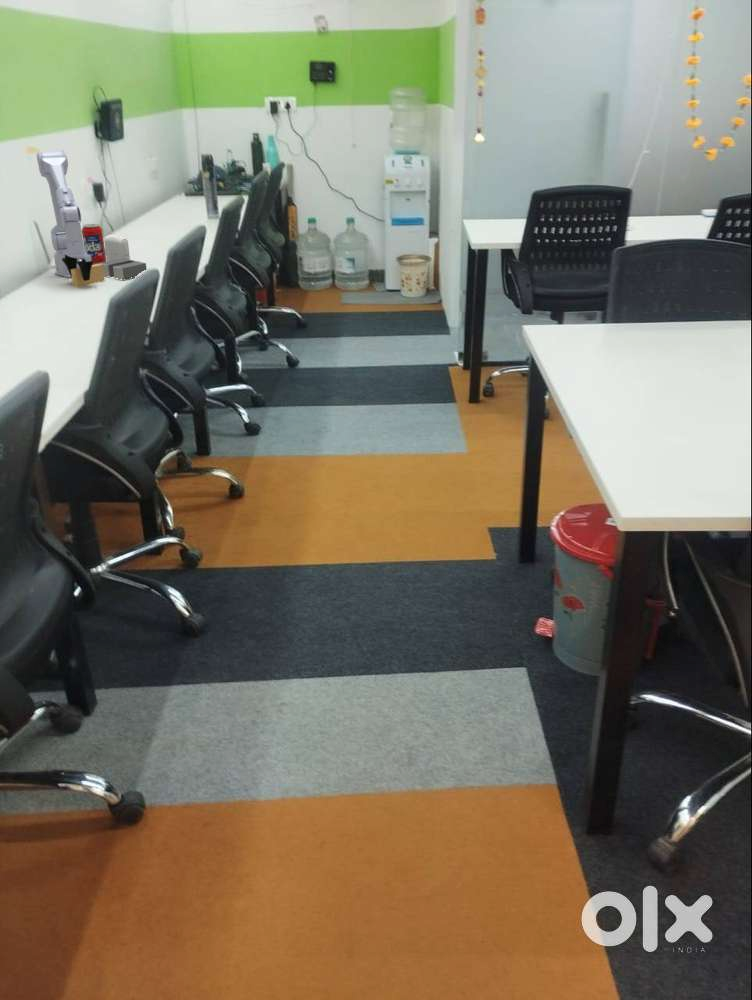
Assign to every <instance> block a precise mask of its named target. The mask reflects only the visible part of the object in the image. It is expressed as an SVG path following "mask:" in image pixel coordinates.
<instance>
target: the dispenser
mask: <svg viewBox="0 0 752 1000" xmlns="http://www.w3.org/2000/svg"><path fill="white" fill-rule="evenodd" d="M99 264H101V265H103V272H104V277H106V276H112V277H114V279H115V278H118V279H122V280H123V281H125V280H124V279H128V280H130V279H129V278H131V277H132V279H135V278H134V277H135V276H137V275H138V274H139V273H141V272H142V271H144V270H146V269H147V263H146V262H141V261H137V260H133V259H130V260H129V259H125V258H123V259H118V260H113V261H108V262H107V261H106V262H103V263H99ZM147 270H148V269H147ZM113 275H114V276H113ZM118 279H117V280H118ZM122 280H121V281H122Z"/></svg>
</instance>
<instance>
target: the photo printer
mask: <svg viewBox="0 0 752 1000" xmlns="http://www.w3.org/2000/svg"><path fill="white" fill-rule="evenodd" d="M104 246H105V253H106V262H108V261H113V260H118V259H123V258H125V259H129V260H131V256H130V249H129V248H130V247H129V241H128V240H127V238H125V237H123V236H121V235H118V234H110V235H106V236H105V237H104Z"/></svg>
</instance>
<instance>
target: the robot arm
mask: <svg viewBox="0 0 752 1000" xmlns="http://www.w3.org/2000/svg"><path fill="white" fill-rule="evenodd" d="M36 161H37V165H38V171H39V174H40V176H41V177H43V178H45V179H46V181H47V183H48V188H49V191H50V197H51V202H52V206H53V213H54V216H55V221H56V224H55V225H54V226H53V227H52V228H51V230H50V236H51V237H50V238H51V243H52V247H53V250H54V251H55V252H54V254H53V259H54V264H55V270H56V272H54V275H58V276H62V277H65V278H72V275H71V269H75V268H80V270H81V273H82V277H83V280H84V281H86V280H89V279H90V271H91V267H92V264H93V260H91V255H88V254H87V252H86V251H85V249H84V243H83V236H82V228H81V227H82V225H81V222H82V214H81V210H80V209H81V208H80V207H79V205H78V203H77V202H76V201H75V198H74V193H73V191H72V189H71V188H69V187H68V186H67V179H66V175H67V173H68V167H69V161H68V156H67V153H66V152H65V150H58V151H57V150H56V151H55V150H54V151H52V150H51V151H37V152H36Z"/></svg>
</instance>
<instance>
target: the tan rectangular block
mask: <svg viewBox="0 0 752 1000" xmlns="http://www.w3.org/2000/svg"><path fill="white" fill-rule="evenodd" d="M71 275H72V277H71V280H72V285H73V287H82V286H86V285H90V284H95V282H96V283H99V282H98V281H100V282H103V281H102V280H105V281H106V279H105V276H104V272H103V265H101V264H95V265H92V267H91V271H90V279H89V280H86V281H84V280H83V277H82V273H81V270H80V268H75V269H71Z"/></svg>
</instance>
